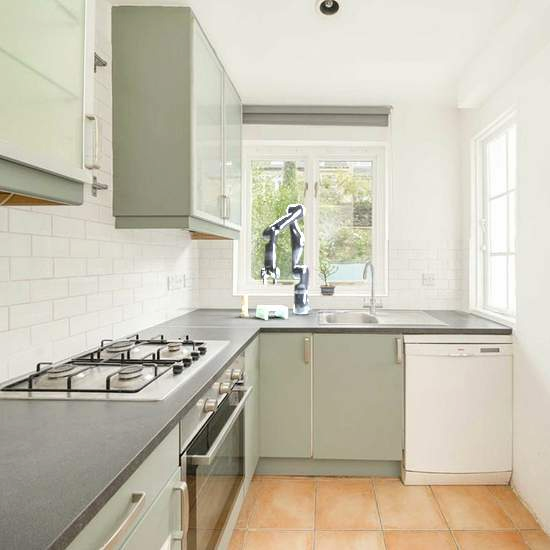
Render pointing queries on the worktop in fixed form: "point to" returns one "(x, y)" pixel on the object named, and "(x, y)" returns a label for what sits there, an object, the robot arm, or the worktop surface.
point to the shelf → (263, 310)
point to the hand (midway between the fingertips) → (269, 285)
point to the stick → (244, 306)
